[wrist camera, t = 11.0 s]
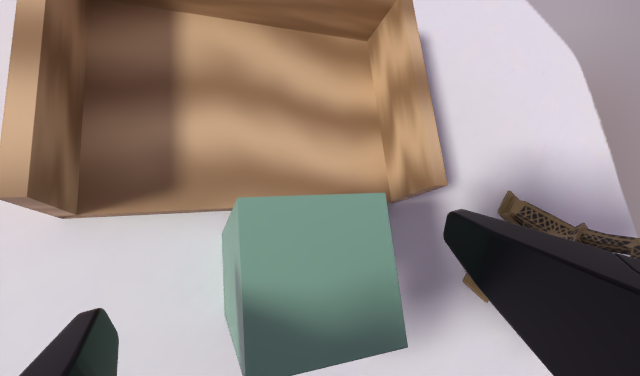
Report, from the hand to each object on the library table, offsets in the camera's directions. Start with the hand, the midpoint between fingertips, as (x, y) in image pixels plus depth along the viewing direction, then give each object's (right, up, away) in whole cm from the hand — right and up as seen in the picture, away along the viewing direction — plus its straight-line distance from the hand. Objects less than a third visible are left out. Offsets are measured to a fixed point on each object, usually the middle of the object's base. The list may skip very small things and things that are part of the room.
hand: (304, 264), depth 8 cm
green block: (-3, -3, +12) cm, 13 cm away
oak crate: (-5, +8, +15) cm, 17 cm away
